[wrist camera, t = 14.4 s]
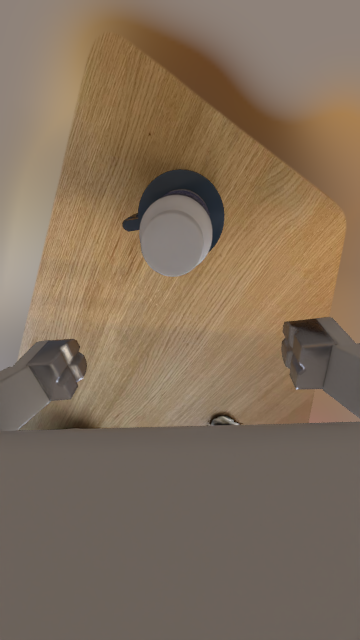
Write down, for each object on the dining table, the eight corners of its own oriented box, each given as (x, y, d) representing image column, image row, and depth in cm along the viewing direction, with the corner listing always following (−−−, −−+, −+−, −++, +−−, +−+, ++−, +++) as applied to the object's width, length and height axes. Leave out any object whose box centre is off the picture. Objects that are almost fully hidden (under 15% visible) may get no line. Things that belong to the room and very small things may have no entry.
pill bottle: (157, 183, 22) (131, 189, 13) (215, 194, 22) (225, 208, 14) (150, 242, 25) (126, 278, 16) (202, 252, 25) (204, 293, 16)
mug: (215, 164, 28) (221, 161, 20) (220, 237, 32) (226, 257, 25) (127, 180, 30) (102, 183, 22) (143, 248, 34) (127, 270, 26)
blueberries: (216, 410, 51) (217, 418, 50) (250, 420, 52) (252, 428, 51) (204, 428, 55) (204, 435, 53) (235, 437, 56) (236, 445, 54)
